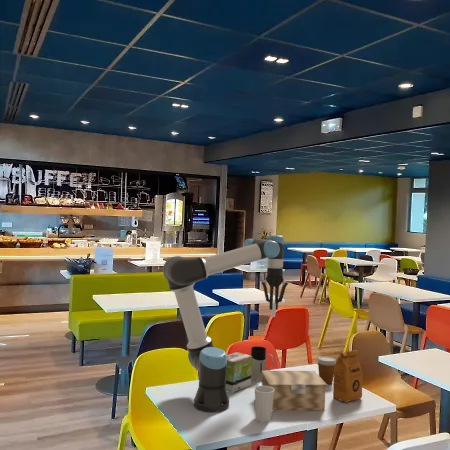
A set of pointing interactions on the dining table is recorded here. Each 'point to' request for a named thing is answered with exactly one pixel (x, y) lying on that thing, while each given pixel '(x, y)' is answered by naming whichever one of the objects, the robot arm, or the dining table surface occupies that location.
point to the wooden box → (297, 399)
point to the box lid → (293, 380)
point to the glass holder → (259, 362)
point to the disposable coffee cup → (326, 368)
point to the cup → (264, 403)
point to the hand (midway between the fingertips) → (273, 316)
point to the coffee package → (347, 377)
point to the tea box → (238, 371)
